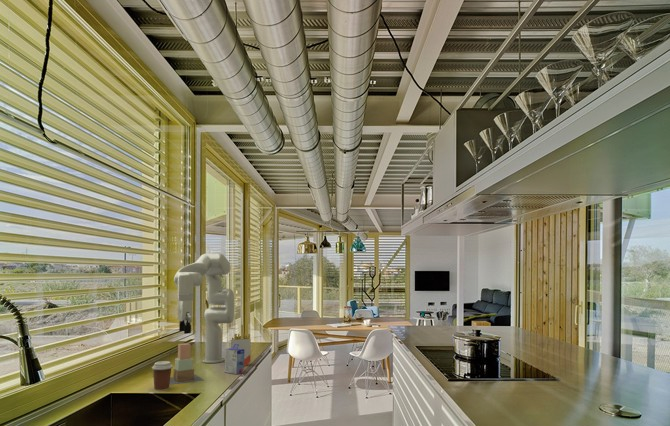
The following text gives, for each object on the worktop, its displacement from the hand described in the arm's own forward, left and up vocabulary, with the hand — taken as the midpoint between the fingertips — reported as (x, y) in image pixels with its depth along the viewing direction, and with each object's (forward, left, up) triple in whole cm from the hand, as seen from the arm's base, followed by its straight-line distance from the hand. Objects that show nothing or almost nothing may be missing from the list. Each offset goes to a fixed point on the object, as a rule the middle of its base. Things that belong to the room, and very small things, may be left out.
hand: (185, 332), depth 238 cm
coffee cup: (+13, -13, -23) cm, 30 cm away
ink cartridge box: (-2, +27, -23) cm, 35 cm away
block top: (0, 0, -18) cm, 18 cm away
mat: (0, 0, -23) cm, 23 cm away
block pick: (0, 0, -13) cm, 13 cm away
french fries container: (-17, +36, -23) cm, 46 cm away
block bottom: (0, 0, -23) cm, 23 cm away
